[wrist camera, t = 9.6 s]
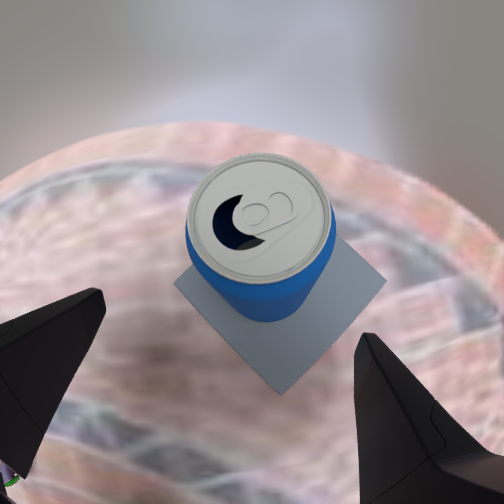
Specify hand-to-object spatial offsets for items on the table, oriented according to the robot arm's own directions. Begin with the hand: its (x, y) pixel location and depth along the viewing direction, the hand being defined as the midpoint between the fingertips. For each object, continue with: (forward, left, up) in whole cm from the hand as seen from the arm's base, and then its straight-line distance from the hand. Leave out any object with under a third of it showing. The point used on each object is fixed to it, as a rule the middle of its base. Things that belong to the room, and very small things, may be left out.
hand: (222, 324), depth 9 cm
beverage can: (+2, -4, -13) cm, 14 cm away
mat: (+1, -4, -13) cm, 14 cm away
